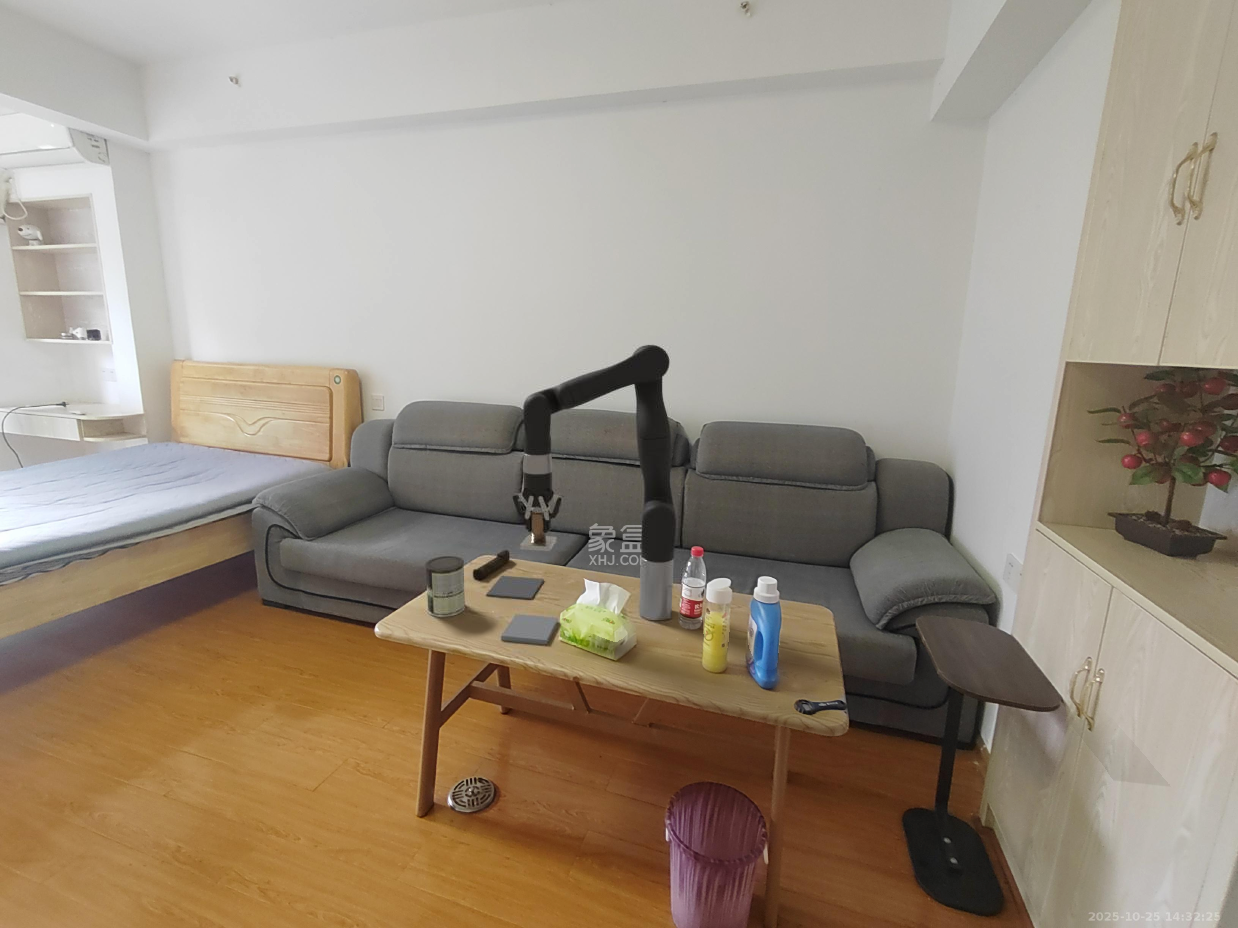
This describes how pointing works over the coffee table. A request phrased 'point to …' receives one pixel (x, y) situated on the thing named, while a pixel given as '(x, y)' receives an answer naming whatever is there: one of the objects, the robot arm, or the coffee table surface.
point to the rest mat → (515, 587)
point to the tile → (530, 629)
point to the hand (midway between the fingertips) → (538, 531)
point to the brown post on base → (538, 534)
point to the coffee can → (445, 586)
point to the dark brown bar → (491, 565)
